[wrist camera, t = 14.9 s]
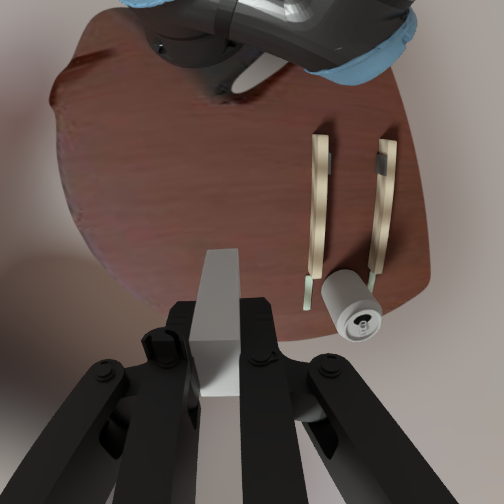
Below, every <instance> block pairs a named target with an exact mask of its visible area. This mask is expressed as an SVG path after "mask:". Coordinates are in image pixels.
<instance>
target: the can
mask: <svg viewBox="0 0 504 504" xmlns="http://www.w3.org/2000/svg"><path fill="white" fill-rule="evenodd" d="M321 294H322V297H323V300H324V302H325V304H326V306H327V309H328V311H329V313H330V315H331V317H332V320H333V322H334V324H335V326H336V329H337V331H338V333H339V334H340V335H341V336H342V337H344V338H346V339H347V340H349V341H351V342H362V341H365V340H367V339H369V338H371V337H372V336H374V335H375V333H377V332H378V330H379V328H380V327H381V324H382V309H381V307H380V305H379V304H378V302H377V301H376V299H375V298H374V296H373V295H372V294H371V292H370V291H369V289H368V288H367V287H366V285H365V284H364V282H363V281H362V280H361V278H360V277H359V275H358V274H357V273H355V272H354V271H352V270H348V269H346V270H339V271H336V272H334V273H333V274H331V275H330V276H329V277H328V278H327V279H326V280H325V281H324V284H323V286H322V291H321Z"/></svg>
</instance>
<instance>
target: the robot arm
mask: <svg viewBox="0 0 504 504" xmlns="http://www.w3.org/2000/svg"><path fill="white" fill-rule="evenodd" d="M119 1H121V2H122V3H124V4H125V5H127V6H128V7H129V8H130V9H131V10H132V11H133V12H134V13H135V14H136V15H137V16H138V17H139V18H140V19H141V20H142V21H143V22H144V23H145V34H146V38H147V40H148V43H149V45H150V46H151V48H152V49H153V50H154V51H155V52H156V53H157V54H158V55H159V56H160V57H161V58H163V59H164V60H166V61H167V62H169V63H171V64H174V65H177V66H180V67H186V68H201V67H207V66H211V65H215V64H217V63H220V62H222V61H224V60H226V59H228V58H230V57H231V56H232V55H234V54H235V53H236V52H237V51H239V50H240V48H241V47H242V46H243V45H244V44H245V45H247V46H250V47H253V48H256V49H259V50H261V51H264V52H267V53H269V54H272V55H275V56H277V57H280V58H282V59H284V60H287V61H289V62H291V63H294V64H296V65H298V66H301V67H303V69H304V70H305V71H306V72H308V73H310V74H315V75H320V76H322V77H324V78H327V79H329V80H331V81H333V82H335V83H338V84H341V85H352V86H353V85H359V84H362V83H365V82H367V81H369V80H372V79H373V78H375V77H377V76H378V75H380V74H381V73H382V72H384V71H385V70H386V69H388V68H389V67H390V66H391V65H392V64H393V63H394V62H395V61H396V60H397V59H398V58H399V57H400V56H401V55H402V53H403V52H404V50H405V49H406V46H405V44H406V43H407V42H409V41H410V40H412V38H413V36H414V34H415V32H416V27H417V18H416V15H415V13H414V12H413V10H412V8H411V7H410V6H411V4H412V3H413V2H414V1H415V0H119ZM141 342H142V345H143V347H144V351H145V354H146V356H147V359H148V361H147V362H146V363H144V364H141V365H138V366H133V367H128V368H124V367H123V366H122V364H121V363H120V362H118V361H116V360H112V359H105V360H101V361H99V362H97V363H95V364H94V365H92V366H91V367H90V368H89V370H88V371H87V372H86V373H85V375H84V376H83V377H82V379H81V380H80V381H79V382H78V384H77V385H76V386H75V388H74V389H73V390H72V392H71V393H70V394H69V396H68V397H67V398H66V400H65V401H64V402H63V404H62V405H61V406H60V408H59V409H58V410H57V412H56V413H55V415H54V416H53V417H52V419H51V420H50V422H49V423H48V424H47V426H46V427H45V428H44V430H43V431H42V433H41V434H40V436H39V437H38V439H37V440H36V441H35V443H34V444H33V446H32V447H31V449H30V450H29V451H28V453H27V454H26V456H25V457H24V459H23V461H22V462H21V464H20V465H19V466H18V468H17V470H16V471H15V473H14V474H13V476H12V478H11V479H10V481H9V482H8V484H7V485H6V487H5V488H4V490H3V492H2V493H1V495H0V504H105V503H106V501H107V499H108V497H109V495H110V493H111V491H112V489H113V487H114V485H115V483H116V486H115V492H114V497H113V503H112V504H195V495H196V475H197V474H196V473H197V458H198V441H199V428H200V415H201V414H200V413H201V406H200V402H199V392H201V396H240V429H241V430H240V431H241V460H242V461H241V463H242V490H243V504H309V503H308V498H307V492H306V487H305V486H306V485H305V480H304V474H303V468H302V462H301V456H300V450H299V445H298V439H297V434H296V427H295V422H294V420H298V421H301V422H302V424H303V426H304V428H305V430H306V432H307V433H308V435H309V437H310V439H311V441H312V443H313V445H314V447H315V448H316V450H317V452H318V454H319V456H320V458H321V459H322V461H323V463H324V465H325V467H326V468H327V470H328V472H329V474H330V476H331V477H332V479H333V481H334V483H335V485H336V487H337V488H338V490H339V492H340V493H341V495H342V497H343V499H344V501H345V502H346V504H459V503H458V502H457V501H456V499H455V498H454V497H453V496H452V494H451V493H450V492H449V490H448V489H447V488H446V486H445V485H444V484H443V482H442V481H441V480H440V478H439V477H438V476H437V475H436V473H435V472H434V471H433V469H432V468H431V467H430V465H429V464H428V463H427V461H426V460H425V459H424V457H423V456H422V455H421V454H420V452H419V451H418V450H417V448H416V447H415V446H414V445H413V443H412V442H411V441H410V439H409V438H408V437H407V435H406V434H405V433H404V431H403V430H402V429H401V428H400V426H399V425H398V424H397V422H396V421H395V420H394V419H393V418H392V416H391V415H390V413H389V412H388V411H387V410H386V408H385V407H384V406H383V404H382V403H381V402H380V401H379V399H378V398H377V397H376V395H375V394H374V393H373V392H372V390H371V389H370V388H369V386H368V385H367V384H366V383H365V381H364V380H363V379H362V377H361V376H360V375H359V374H358V372H357V371H356V370H355V369H354V367H353V366H352V365H351V363H350V362H349V361H348V360H346V359H345V358H344V357H342V356H340V355H337V354H330V353H327V354H321V355H319V356H316V357H315V358H313V359H312V361H311V362H310V363H307V362H300V361H295V360H292V359H290V358H288V357H286V356H285V355H283V354H282V352H281V351H280V350H279V347H278V343H277V337H276V332H275V326H274V321H273V315H272V309H271V304H270V303H269V302H268V301H267V300H266V299H265V298H264V297H259V298H241V295H240V278H239V260H238V248H237V249H215V250H207V253H206V257H205V262H204V267H203V271H202V276H201V281H200V286H199V290H198V295H197V300H196V301H178V302H177V303H176V304H175V305H174V306H173V307H172V308H171V309H170V312H169V315H168V319H167V322H166V326H165V327H161V328H156V329H154V330H151V331H149V332H148V333H147V334H145V335H144V337H143V338H142V340H141Z"/></svg>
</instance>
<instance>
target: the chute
mask: <svg viewBox="0 0 504 504" xmlns="http://www.w3.org/2000/svg"><path fill="white" fill-rule="evenodd" d="M396 146H397V141H393V140H386V139H379V154H376V172H375V173H378V178H377V192H376V203H375V213H374V222H373V231H372V239H371V246H370V253H369V260H368V267H369V268H370V270H371V271H370V274H369V279H368V285H367V288H368V289H369V291H370V292H371V294H372V292H373V287H374V282H375V276H376V274H382V270H383V265H384V259H385V253H386V247H387V240H388V233H389V226H390V218H391V210H392V201H393V191H394V179H395V166H396ZM328 174H331V153H329V152H328V135H319V134H312V200H311V227H310V247H309V264H308V271H309V273H310V275H306V279H305V294H304V307H303V310H310V305H311V294H312V283H313V279H318V278H321V276H322V264H323V252H324V239H325V223H326V205H327V180H328Z"/></svg>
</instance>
